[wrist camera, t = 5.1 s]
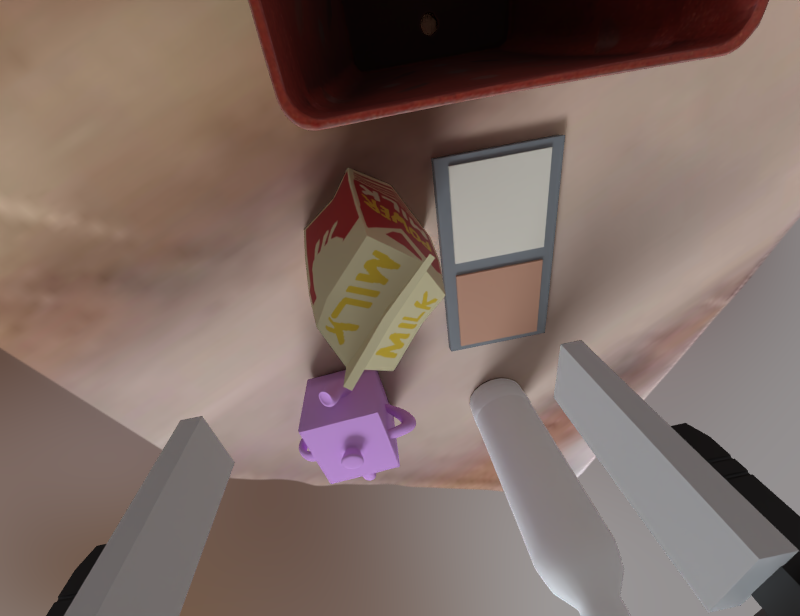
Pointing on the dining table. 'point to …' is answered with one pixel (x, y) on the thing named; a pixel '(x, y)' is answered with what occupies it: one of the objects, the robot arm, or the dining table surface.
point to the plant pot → (473, 48)
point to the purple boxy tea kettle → (351, 427)
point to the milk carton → (370, 275)
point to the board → (497, 238)
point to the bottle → (549, 503)
